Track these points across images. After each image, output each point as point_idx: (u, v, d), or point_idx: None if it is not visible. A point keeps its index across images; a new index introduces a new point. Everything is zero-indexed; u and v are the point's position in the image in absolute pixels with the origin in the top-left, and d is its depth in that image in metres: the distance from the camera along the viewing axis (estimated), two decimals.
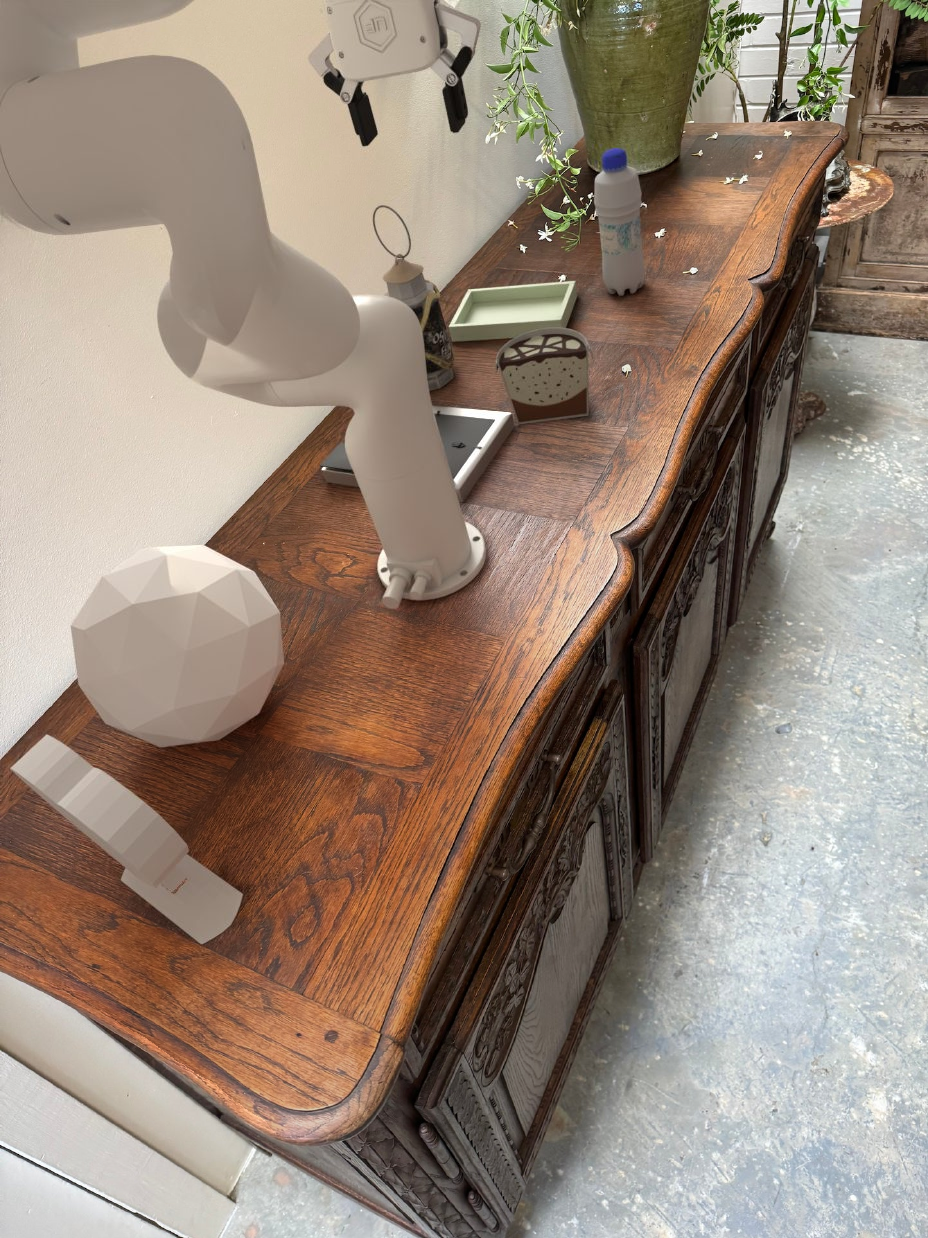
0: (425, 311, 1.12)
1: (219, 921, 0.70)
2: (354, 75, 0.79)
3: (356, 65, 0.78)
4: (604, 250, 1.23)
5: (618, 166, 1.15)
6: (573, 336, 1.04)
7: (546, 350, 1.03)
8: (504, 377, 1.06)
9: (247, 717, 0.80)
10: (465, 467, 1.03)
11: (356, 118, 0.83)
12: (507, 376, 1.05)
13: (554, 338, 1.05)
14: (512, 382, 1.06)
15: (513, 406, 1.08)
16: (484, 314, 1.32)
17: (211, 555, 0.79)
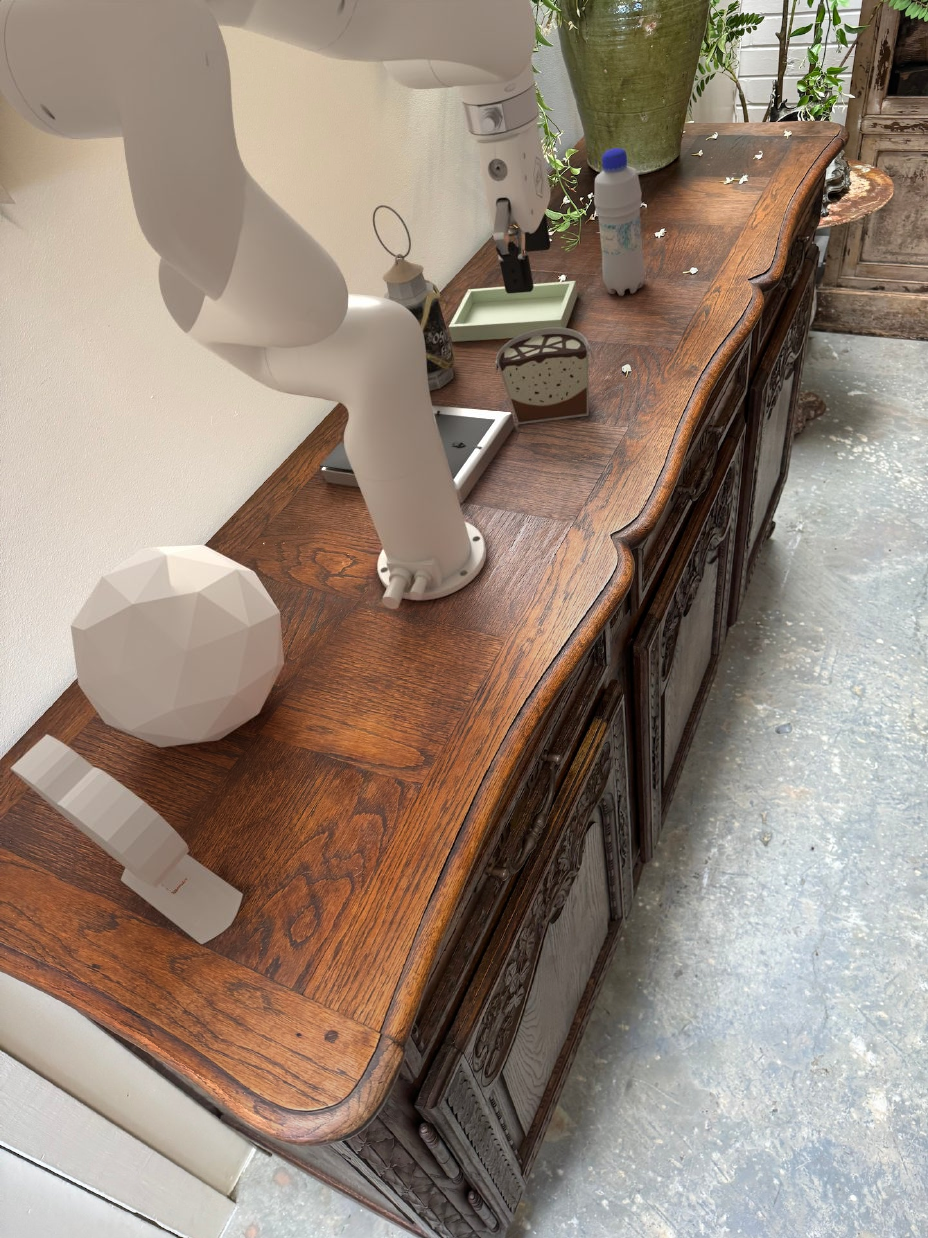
0: (425, 311, 1.12)
1: (219, 921, 0.70)
2: (537, 224, 0.91)
3: (537, 215, 0.90)
4: (604, 250, 1.23)
5: (618, 166, 1.15)
6: (573, 336, 1.05)
7: (546, 350, 1.03)
8: (504, 377, 1.06)
9: (247, 717, 0.80)
10: (465, 467, 1.03)
11: (529, 267, 0.93)
12: (507, 376, 1.05)
13: (554, 338, 1.05)
14: (512, 382, 1.06)
15: (513, 406, 1.08)
16: (484, 314, 1.32)
17: (211, 555, 0.79)
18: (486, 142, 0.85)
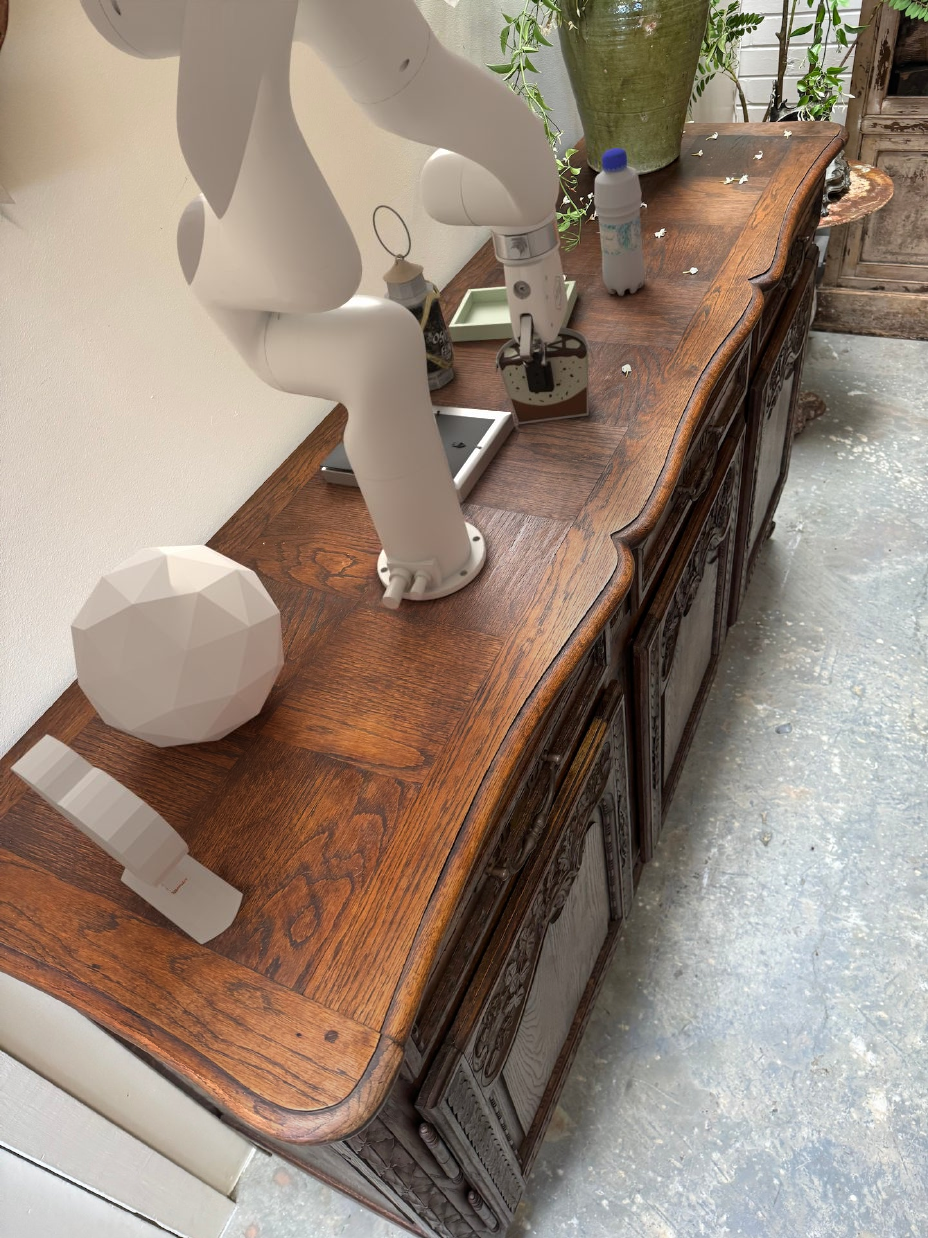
0: (425, 311, 1.12)
1: (219, 921, 0.70)
2: (556, 335, 1.00)
3: (556, 327, 0.99)
4: (604, 250, 1.23)
5: (618, 166, 1.15)
6: (573, 336, 1.05)
7: None
8: (504, 377, 1.06)
9: (247, 717, 0.80)
10: (465, 467, 1.03)
11: (551, 371, 1.03)
12: (507, 376, 1.05)
13: None
14: (512, 381, 1.06)
15: (513, 406, 1.08)
16: (484, 314, 1.32)
17: (211, 555, 0.79)
18: (512, 266, 0.94)
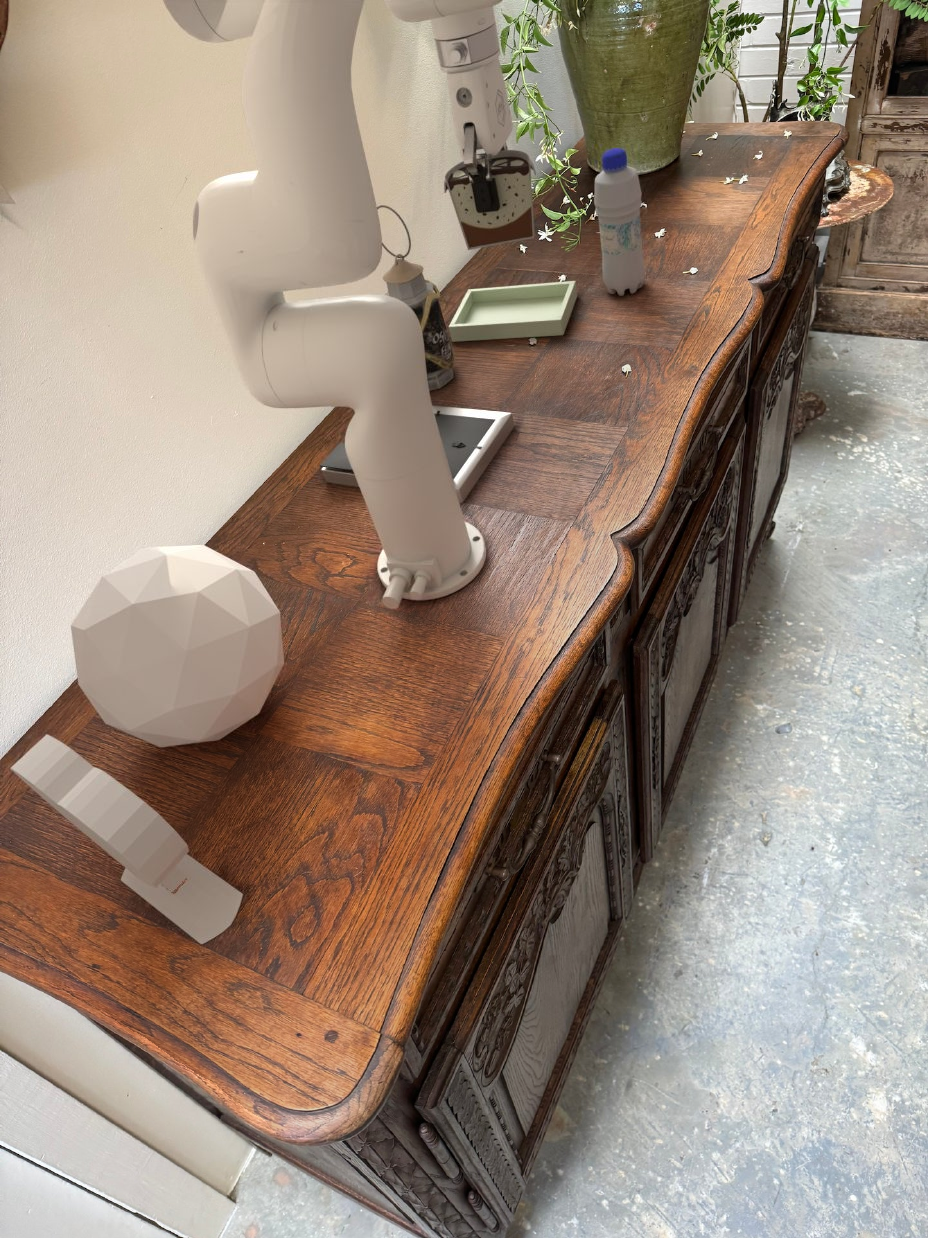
0: (425, 311, 1.12)
1: (219, 921, 0.70)
2: (499, 148, 1.06)
3: (499, 140, 1.05)
4: (604, 250, 1.23)
5: (618, 166, 1.15)
6: (517, 157, 1.11)
7: None
8: (453, 197, 1.12)
9: (247, 717, 0.80)
10: (465, 467, 1.03)
11: (496, 188, 1.09)
12: (456, 196, 1.11)
13: (500, 160, 1.11)
14: (461, 202, 1.12)
15: (463, 229, 1.15)
16: (484, 314, 1.32)
17: (211, 555, 0.79)
18: (454, 72, 1.00)
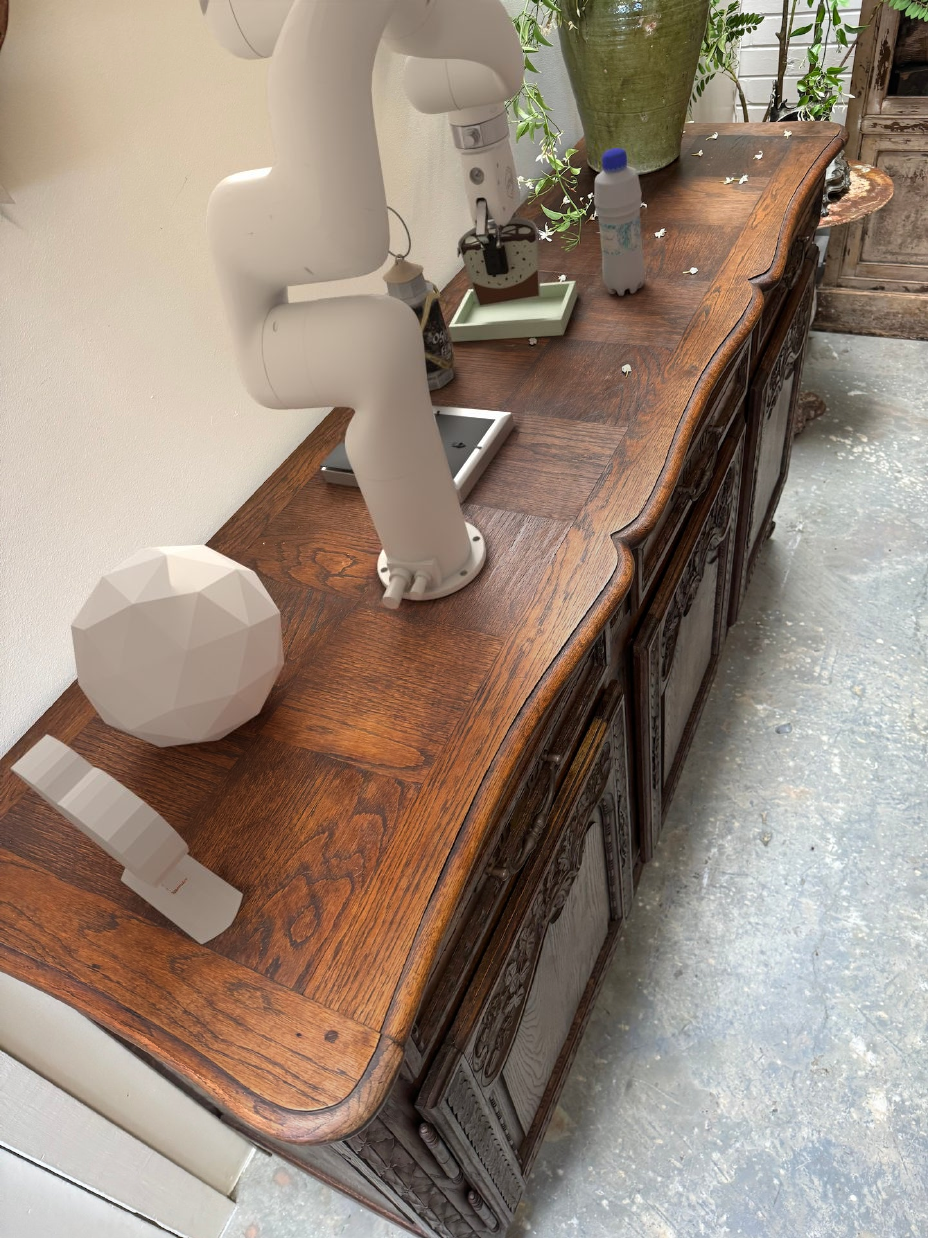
0: (425, 311, 1.12)
1: (219, 921, 0.70)
2: (508, 219, 1.15)
3: (508, 212, 1.15)
4: (604, 250, 1.23)
5: (618, 166, 1.15)
6: (525, 225, 1.20)
7: (501, 235, 1.19)
8: (465, 261, 1.21)
9: (247, 717, 0.80)
10: (464, 467, 1.03)
11: (505, 254, 1.19)
12: (468, 260, 1.21)
13: (509, 227, 1.21)
14: (473, 265, 1.21)
15: (474, 289, 1.24)
16: (484, 314, 1.32)
17: (211, 555, 0.79)
18: (468, 154, 1.10)
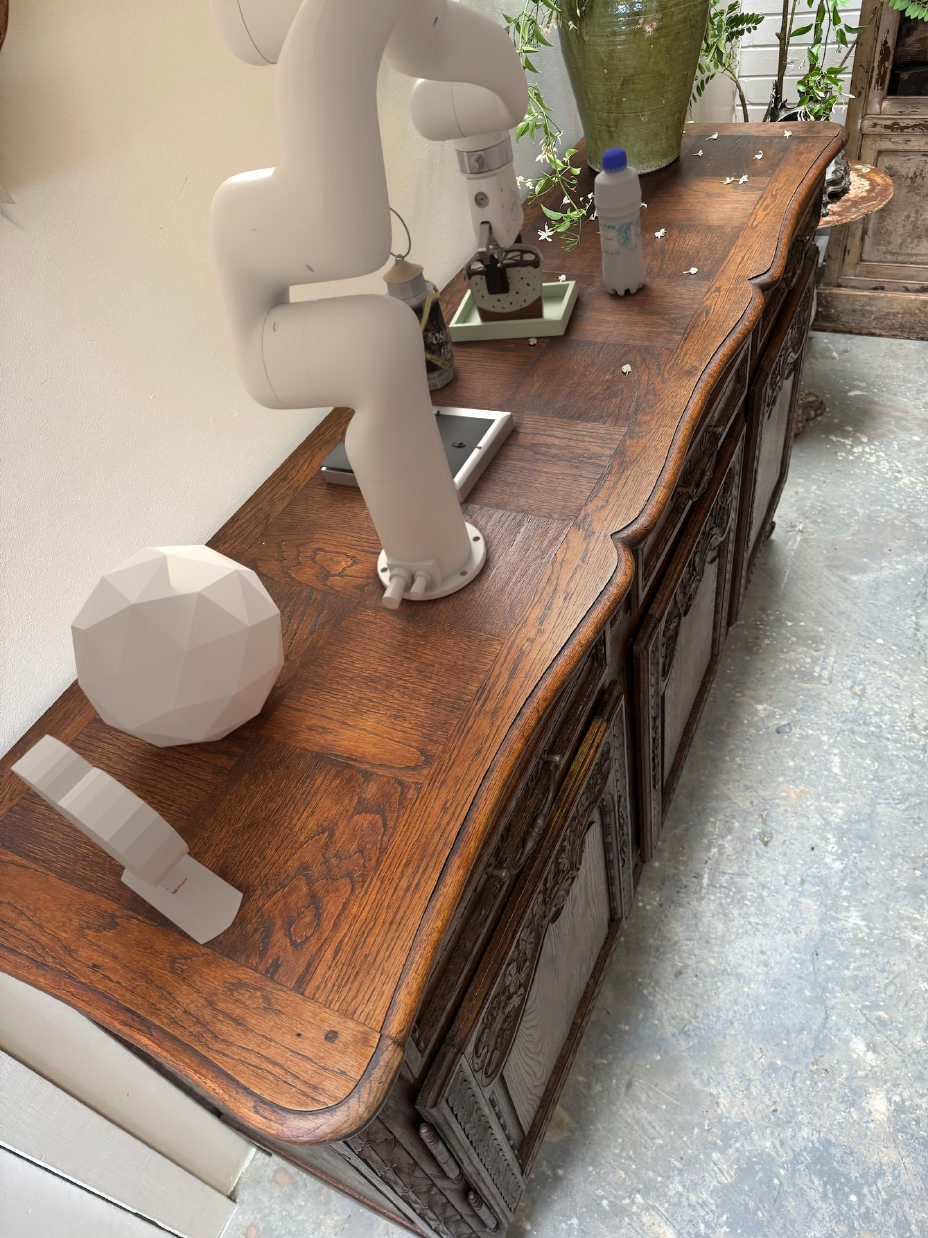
0: (425, 311, 1.12)
1: (219, 921, 0.70)
2: (512, 241, 1.17)
3: (512, 234, 1.17)
4: (604, 250, 1.23)
5: (618, 166, 1.15)
6: (529, 251, 1.23)
7: (506, 261, 1.22)
8: (471, 286, 1.24)
9: (247, 717, 0.80)
10: (464, 467, 1.03)
11: (506, 274, 1.20)
12: (473, 285, 1.24)
13: (513, 253, 1.24)
14: (478, 290, 1.24)
15: (479, 313, 1.27)
16: None
17: (211, 555, 0.79)
18: (473, 178, 1.12)
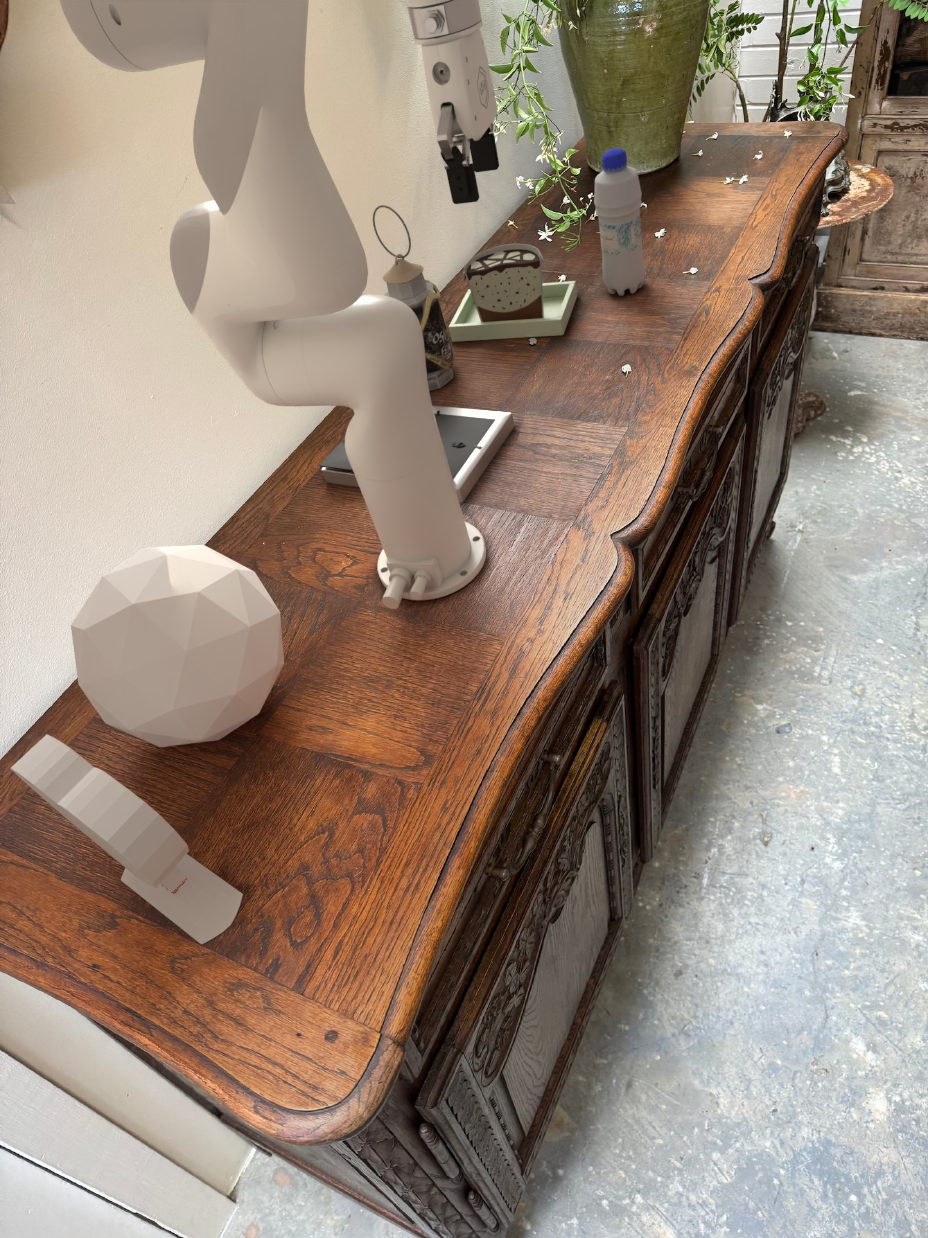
0: (425, 311, 1.12)
1: (219, 921, 0.70)
2: (481, 132, 0.94)
3: (481, 123, 0.93)
4: (604, 250, 1.23)
5: (618, 166, 1.15)
6: (529, 251, 1.23)
7: (506, 261, 1.22)
8: (471, 286, 1.24)
9: (247, 717, 0.80)
10: (464, 467, 1.03)
11: (474, 176, 0.96)
12: (473, 285, 1.24)
13: (513, 253, 1.24)
14: (478, 290, 1.24)
15: (479, 313, 1.27)
16: None
17: (211, 555, 0.79)
18: (430, 45, 0.88)
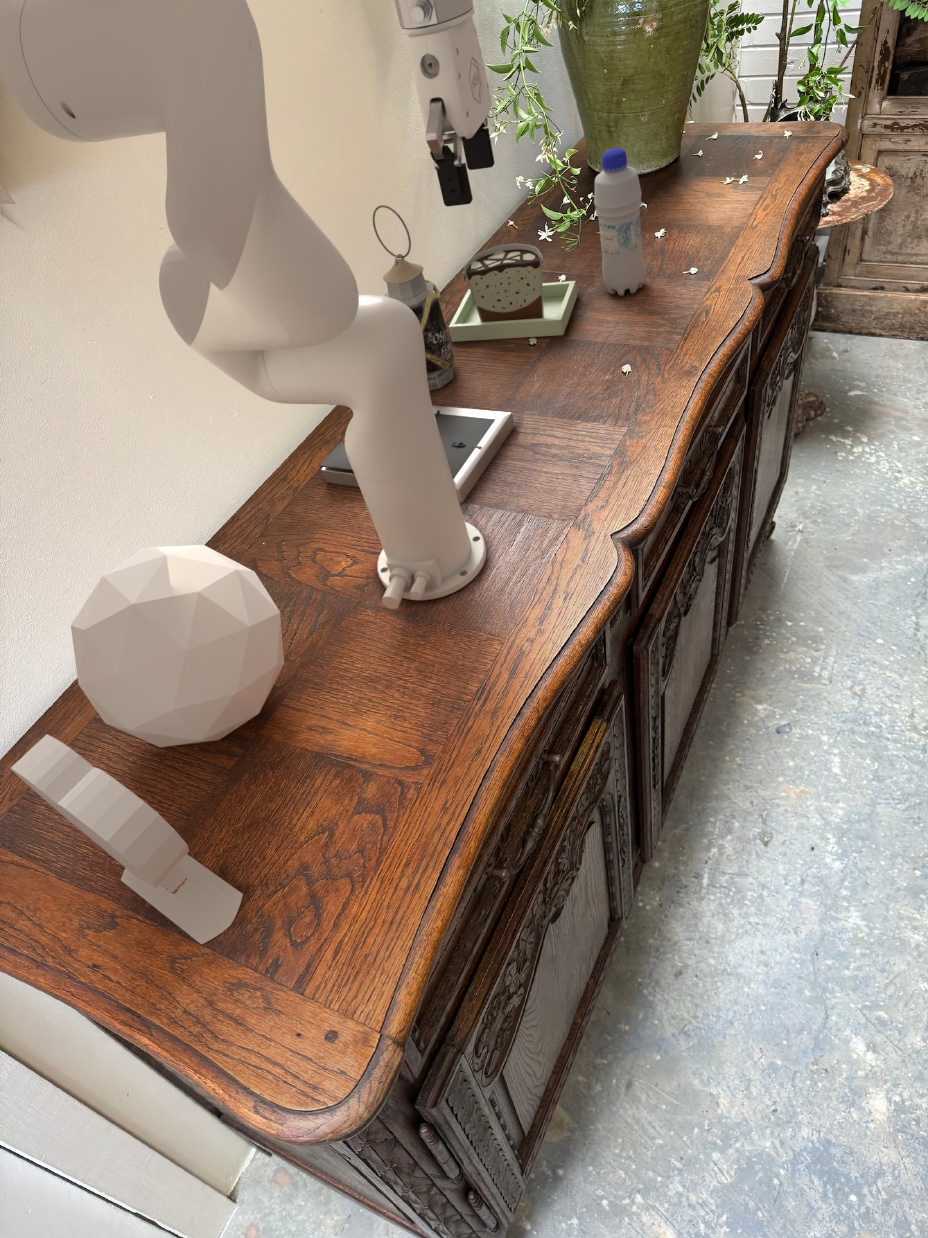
0: (425, 311, 1.12)
1: (219, 921, 0.70)
2: (474, 129, 0.87)
3: (474, 120, 0.87)
4: (604, 250, 1.23)
5: (618, 166, 1.15)
6: (529, 251, 1.23)
7: (506, 261, 1.22)
8: (471, 286, 1.24)
9: (247, 717, 0.80)
10: (464, 467, 1.03)
11: (467, 176, 0.89)
12: (473, 285, 1.24)
13: (513, 253, 1.24)
14: (478, 290, 1.24)
15: (479, 313, 1.27)
16: None
17: (211, 555, 0.79)
18: (417, 35, 0.81)
